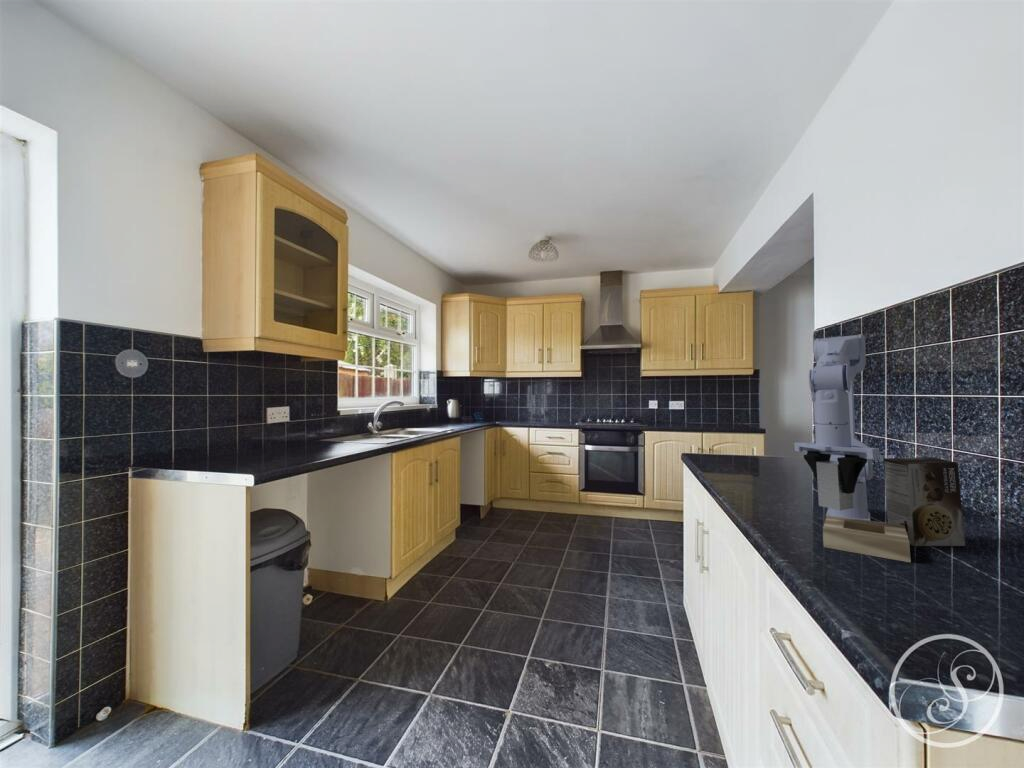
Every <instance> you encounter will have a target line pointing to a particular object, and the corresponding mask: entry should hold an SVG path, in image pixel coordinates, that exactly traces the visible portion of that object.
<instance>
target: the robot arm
mask: <svg viewBox="0 0 1024 768" xmlns="http://www.w3.org/2000/svg"><path fill="white" fill-rule="evenodd" d="M866 350H867V349H866V337H865V336H864V335H863V334H862V333H860V334H856V335H844V336H835V337H827V338H826V337H825V338H824V337H823V338H816V339H815V340H814V341H813V356H814V357H813V358H814V360H815V363H816V365H815V366H814V368H812V369H809V370H808V371H809V372H808V385H809V389H810V390H809V391H810V394H811V401H812V402H813V414H814V416H813V417H814V433H815V436H814V437H815V442H806V441H805V442H804V441H802V442H801V441H797V442H794V444H793V445H794V452H799V453H801V452H805V453H806V454H803V460H804V461H805V462H806V464H808V466H809V468H810V469H811V471H812V473H813V476H814V478H815V481H816V483H817V485H818V482H817V464H816V462H820V461H829V460H830V461H838V462H839V465H840V469H841V473H842V481H843V491H844V493H846V494H850V493H853V507H854V508H852V509H846V510H835V509H831V508H827V511H826V513H825V517H826V516H827V515H831V516H839V517H846V518H854V519H861V520H869V521H871V512H870V511H868V500H867V499H868V496H867V480H868V481H870V480H872V478H873V476H874V474H873V473H874V471H873V470H874V469H873V460H879V459H880V449H879V448H878V447H875V448H874V447H870V446H869V445H867V444H865V443H864V442H862V441H860V440H859V439H857V438H856V421H855V415H856V414H855V391H854V383H855V379H856V375H857V374H858V373H861V372H863V371H865V369H866V368H865V367H866V366H867V361H866V358H867V351H866Z"/></svg>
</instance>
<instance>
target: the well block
mask: <svg viewBox="0 0 1024 768" xmlns="http://www.w3.org/2000/svg"><path fill="white" fill-rule="evenodd" d="M822 541H823V542H822V543H823V548H825V549H826V548H827V549H832V550H838V551H844V552H848V553H849V552H850V553H855V554H860V555H866V556H871V557H878V558H883V559H884V558H885V559H888V560H894V561H901V562H906V563H912V562H911V561H912V559H911V550H910V549H911V547H910V546H911V544H909V539H908V536H907V533H906V529H905V526H904V525H899V524H891V523H888V522H881V521H875V520H870V521H869V520H861V519H854V518H846V517H839V516H831V515H827V516H826V515H825V520H824V524H823V526H822Z"/></svg>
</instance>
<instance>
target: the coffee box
mask: <svg viewBox="0 0 1024 768" xmlns="http://www.w3.org/2000/svg"><path fill="white" fill-rule="evenodd" d="M883 472H884V483H885V484H884V485H885V486H884V487H885V499H886V501H885V502H886V513H887V515H886V516H887V523H891V524H899V525H904V526H905V529H906V533H907V536H908V539H909V544H910V546H913V547H965V546H966V541H965V540H966V539H965V531H964V519H963V504H962V494H961V483H960V473H959V463H958V461H950V460H946V459H942V458H934V457H894V458H892V457H891V458H887V457H886V458H885V457H884V458H883Z"/></svg>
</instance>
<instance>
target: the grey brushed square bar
mask: <svg viewBox="0 0 1024 768" xmlns="http://www.w3.org/2000/svg"><path fill="white" fill-rule="evenodd" d="M816 464H817V481H816V483H817V482H818V484H817V497H818V506H819V507H822V508H827V509H828V508H831V509H835V510H846V509H852V508H854V507H853V493H850V494H846V493H844V491H843V481H842V473H841V469H840V465H839V462H838V461H830V460H829V461H820V462H816Z"/></svg>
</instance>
